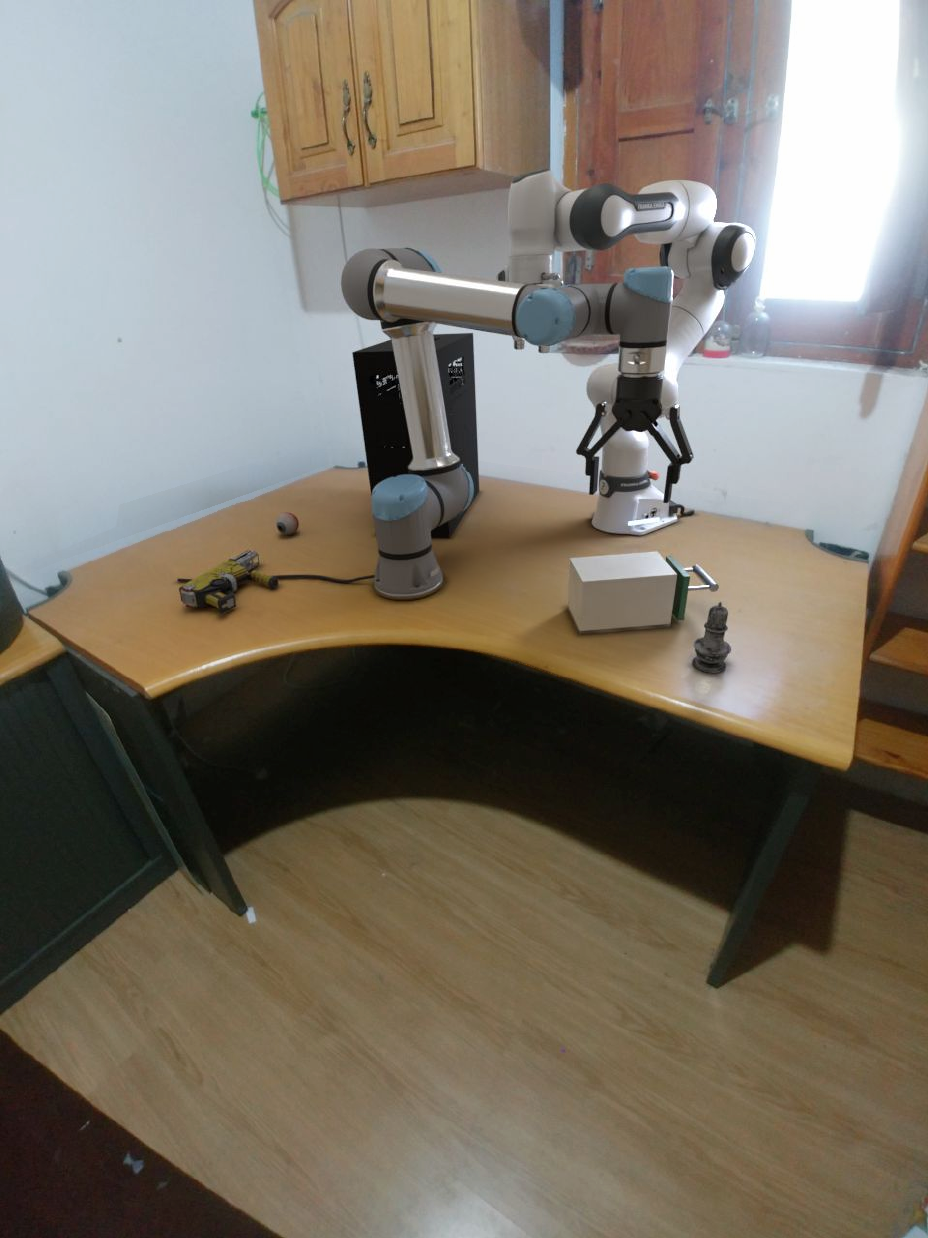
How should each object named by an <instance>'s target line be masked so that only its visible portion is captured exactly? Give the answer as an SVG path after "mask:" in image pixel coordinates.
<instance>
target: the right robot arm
mask: <svg viewBox="0 0 928 1238" xmlns="http://www.w3.org/2000/svg"><path fill="white" fill-rule="evenodd" d="M552 171H553V170H551V169H548V168H541V169H538V170H537V169H536V170H533V171H529V172H525V173H522V174H519V175H517V176H516V177H514V178H513V180H512V181H511V183H510V187H509V192H508V199H507V232H508V238H509V250H508V255H507V261H508V264H506V265H504V267H503V268H502V269H500V270H499V271H498V272H497V273H496V276H495V280H497V281H505V282H513V283H520V284H528V285H538V286H545V287H557V288H558V287H560V286H563V285H564V280H563V279H562V277H561V276H560V273H559V272H555V252H559V253H566V252H567V253H568V252H578V251H606V250H609V249H611V248H613V247H614V246H615V245H617V244H618V243H620V242H621V241H622V240H623V239H624V238H626V237H628V236H631V235H633V236H634V237H635V239H636V240H637V241H638V242H639V243H644V244H649V245H660V248H659V254H658V256H659V258H658V259H659V267H664V266H666V267H669V268H671V270H672V271H673V279H677V280H680V279H681V280H682V279H683V280H684V282H683V286H682V288H681V290H680V292H679V293H678V294H677V295H676V296H675V297H674V298H673V302H672V305H671V312H670V320H669V328H668V336H667V349H666V358H665V368H664V370H663V371H662V372H660V374H661V375H662V376H663V385H662V394H661V404H662V407H665V406H673V405H674V404H677V402H678V399H679V393H680V390H679V389H680V388H679V384H678V379H677V378H678V376H679V375H678V374H679V372H680V369H681V368H682V366H683V364H684V363H685V361H686V360H687V359H688V357H689V356H690V355H691V354H692V352H693V351H694V350H695V348H696V346H697V345H698V344H699V343H700V342H701V341H702V339H703V338H704V337H705V335H706V334H707V333H708V331H709V329H711V327H712V326H713V324H714V323H715V320H716V319H717V317H718V315H719V314H720V312H721V310H722V308H723V305H724V302H725V293H724V291H726V290H728V289H730V288H733V287H734V285H736V284H737V282H738V280H739V279H740V278H741V277H743V276H744V274H745V273H746V271H747V270H748V268H749V267H750V265H751V263H752V262H753V260H754V257H755V254H756V248H757V247H756V246H757V243H756V242H757V241H756V235H755V233H754V231H753V229H752V228H751V227H750V226H748V225H746V224H742V223H738V222H731V223H726V222H714V218H715V215H716V211H717V198H716V194H715V192H714V190H713V189H712V188H711V187H710V186H709V185H708V184H706V183H703V182H699V181H696V180H695V181H694V180H688V179H669V180H662V181H658V182H654V183H651V184H648V185H645V186H643V187H642V188H641V189H640V190H639V191H638V193H636V194H635V193H633V194H631V193H628V192H627V191H624V190H623V189H621V188H620V187H618V186H617V185H615V184H613V183H609V182H601V183H599V184H596V185H593V186H590V187H587V188H581V189H577V190H572V189H571V188H568V187H566V186H564V184H562V183H561V182H560V181H559V180H557V178H556V177H555V176H554V174H553V172H552ZM511 337H512V340H513V349H514V350H517V351H519V350H521V351H522V350H524V349H525V347H526V346H525V342H526V340H525V339H524V338H520V337H515V336H511ZM537 348H538V353H540V354H549V353H550V351H551V346H537ZM620 374H621V373H620V372H619V371H618V362H615V363H614V362H613V363H607V364H603V365H599V366H597V367H596V368H595V369H593V371H591V373H590V375H589V377H588V378H587V382H586V387H585V388H586V396H587V398H588V400H589V401H590V403H591V405H592V406H593V408H594V410H595V411H596V406H597V404H599V403H600V402H602V401H605V402H606V403H608V404H614V403H615V397H616V383H617V377H618V376H619V375H620ZM664 417H665V415H664V414H661V415H660V416H659V418H658V419H662V418H664ZM665 418H666V417H665ZM616 421H617V420H616V418H615V417H614V415H613V413H612V411H610V412H609V414H608V415H607V416H604V418H603V420H602V422H601V424H600V426H599V427H600V433H601V437H602V436H603V435H604V434H605V433H606V432H607V431H608V430H609V429H610V427H611V426H612V425H613V424H614V423H615V422H616ZM649 446H650V441H649V437H648V435H647V434H646V432H645V431H644V432H637V431H625V430H623V429H622V428H620V429H619V430H618V431H617V432H616V433H615V434H614V435H613V436H612V437H611V438H610V439H609V440H608V441H607V443H606V444H605V445H604V446H603V447H602V448H601V468H600V470H599V472H598V492H599V493H598V498H597V502H596V507H595V511H594V514H593V517H592V520H591V525H592V526H593V527H594V528H595V529H597V530H599V531H601V532H605V533H611V534H623V535H625V534H626V535H632V536H633V535H634V536H645V535H646V534H650V533H652V532H654V531H657V530H660V529H662V528H665V527H668V526H670V525H672V524H675V523H677V522H678V516H677V515H676V514H678V513H680V515H681V516H682V517H687V516H690V515H694V514H695V510H694V509H691V510H688V511H685V510H686V508H685V506H684V505H683V504H680V503H676V502H674V501H673V500H671V499H670V500H669V502H668V503H663V501H664V492H661V491H660V490H659V489H658V488H656V487H655V486H654V485H652V483H651V480H653V481H658V479H659V478H660V473H659V472H657V471H654V470H651V471H649V470H648V469H647V466H648V458H649V457H648V456H649ZM679 509H680V511H679Z"/></svg>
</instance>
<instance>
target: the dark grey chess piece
mask: <svg viewBox="0 0 928 1238" xmlns="http://www.w3.org/2000/svg"><path fill="white" fill-rule="evenodd" d="M728 616H729V611H728V608H726V607H725V606H723V603H722V601H719V602H718V603H717V605H714V606H713V605H712V606H711V607H710V608H709V610H708V616H707V621H706V622H705V623H704V624H703V627H704V630H705V631H704V635H703V636H702V637H699V638H697V639H695V640H694V641H693V647H694V651H695V655H696V656H695V657H693V658H692V665H693V666H694V667H695V668H696V669H698V670H699V671H702V672H705V673H710V674H716V673H717V674H718V673H721V672H724V670H726V667H727V664H726V662H725V660H726V659H727V658H728V655H730V654H731V651H732V647H731V645H730V644H729V643H728V642H727V641H725V634H726V632H728V630H729V628H728V625H727V622H728Z"/></svg>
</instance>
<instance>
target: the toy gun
mask: <svg viewBox="0 0 928 1238" xmlns="http://www.w3.org/2000/svg"><path fill="white" fill-rule="evenodd" d="M255 558H257V561H256V562H255V561H254V560H255ZM259 565H260V557H259V552H258V551H256V550H253V551H252V550H251V549H246V550H245V551H243V552H242V553H240V554H238V555H236V556H234V557H233V558H229V559H227V560H226V561H223V562H222V563H220V564H219V565H217V566H215V567H213V568H211V569H209V570H208V571H205V572H203V573H202V574H199V576H196V577H194V578H192V579H193V580H191V581H189V582H185V583H184V584H182V585H180V586H179V587H178V592H179V597H180V601H181V602H182V604H183V605H185V607H186V608H189V609H193V608H204V607H205V608H206V607H208V606H213V607H214V608H217V609H218V612H219V615H223V614H225V613H227V612H229V611H231V610H233V609H235V608H237V603H236V594H235V592H237V591H238V587H239V586H240V585H243V584H245V583H248V580H250V579H251V581H255V582H256V583H259V584H262V585H264V586H268V587H269V588H271V589H275V588H276V587H278V585H279V578H276V577H272V576H273V575H270V574H266V573H263V572H261V571H258V570H255V569H254V568H255V567H258V566H259ZM253 569H254V570H253ZM250 570H252V571H251V572H250V573H249V571H250ZM270 576H271V577H270Z"/></svg>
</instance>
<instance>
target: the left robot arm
mask: <svg viewBox="0 0 928 1238" xmlns="http://www.w3.org/2000/svg"><path fill="white" fill-rule="evenodd" d="M623 275H624V276H623V279H622V281H619V282H614V283H571V284H565V285H564V284H563V286H560V287H558V288H557V287H545V286H538V285H528V284H520V283H513V282H505V281H497V280H496V279H488V278H483V277H481V278H479V277H475V276H466V275H459V274H451V273H444V272H442V270H441V267H440V265H439V263H438V262H437V261H436V260H435V259H434V257H432V256H431V255H430V254H428V252H426V251H424V250H421V249H417V248H413V247H407V246H406V247H394V248H393V247H392V248H391V247H390V248H365V249H362V250H359V251H357V252H356V253H354V254H353V255H352V256H350V257H349V259H348V260H347V262H346V263H345V265H344V266H343V269H342V272H341V277H340V278H341V279H340V286H341V292H342V297H343V299H344V301H345V303H346V305H347V306H348V308H349V309H350V310H351V311H352V312H353V313H354V314H356V315H357V316H358V317H360V318H362V319H364V320H369V321H379V322H380V328H381V332H382V333H384V334H385V335H386V336H387V337H388V338H389V340H391V341H392V346H393V352H394V357H395V363H396V368H397V373H398V375H397V376H398V379H399V384H400V390H401V395H402V400H403V406H404V411H405V417H406V422H407V427H408V433H409V438H410V444H411V449H412V455H413V458H412V460H411V462H410V463H409V465H408V470H409V474H404V475H398V476H397V477H390V478H387V479H385V480H383V481H381V482H380V483H378V484H377V485H376V486H375V488H374V489H373V491H372V497H371V512H372V517H373V518H372V519H373V524H374V531H375V539H376V546H377V551H378V552H377V553H378V558H377V563H376V568H375V572H374V574H371V575H370V574H369V575H364V576H359V577H355V578H349V579H340V578H334V577H330V576H325V575H320V574H319V575H318V574H277V575H269V576H270V577H271V576H272V577H276V578H277V579H298V578H299V579H300V578H301V579H303V578H304V579H305V578H306V579H319V580H326V581H330V582H335V583H342V584H348V583H355V582H360V581H364V580H371V579H373V585H374V591H375V592H376V593H377V594H378V595H379V596H381V597H382V598H385V599H388V600H394V601H413V600H419V599H424V598H425V597H429V596H431V595H433V594H435V593H436V592H438V591H439V590H440V589H441V588H442V587H443V585H444V577H443V572H442V569H441V567H440V564H439V563H438V561H437V558H436V555H435V553H434V551H433V544H432V537H431V530H433V529H434V528H436V527H438V526H440V525H442V524H443V523H445V522H447V521H449V520H450V519H453V518H455V517H457V516H458V515H460V514H461V513H462V512H463V511H464V510H465V509H466V508H467V507H468V506H469V505H470V503H471V501H472V498H473V493H474V486H473V481H472V478H471V475H470V474H469V472H467V471H466V469H465V468H464V467H463V466H462V465H463V464H462V465H460V459H459V457H458V456H457V455H456V454H454V453H453V452H452V451H451V446H450V439H449V433H448V426H447V420H446V413H445V407H444V400H443V394H442V388H441V381H440V375H439V368H438V362H437V355H436V349H435V343H434V336H433V334H434V330H435V329H436V327H437V326H438V325H443V326H448V327H456V328H462V329H467V330H474V331H480V332H485V333H491V334H497V335H504V336H510V337H512V336H515V337H520V338H522V339H523V340H525V342H527V343H529V344H530V345H533V346H535V347H538V346H550V347H551V346H555V345H558V344H559V343H561V342H562V343H563V342H565V341H569V340H572V339H576V338H580V337H583V336H591V335H619V343H618V345H619V346H618V357H617V363H618V371H619V372H620V373H621V374H620V375H619V376H618V377H617V383H616V397H615V403H614V404H608V403H606V402H605V401H602V402H600V403H599V404H597V406H596V410H595V411H594V417H593V418H592V420H591V422H590V423H589V426H588V428H587V430H586V431H585V434H584V435H583V437H582V439H581V440H580V443H579V445H578V446H577V448H576V450H575V453H576V455H578V456H582V457H584V458H585V469H584V470H585V471H584V473H585V476H586V477H587V476H588V477H589V486H588V487H589V489H588V495H589V496H594V495H595V494H596V493H597V492H598V487H599V471H600V470H599V468H600V456H595V455H596V454H597V453H598V452H599V451H600V450H602V447H603V446H604V445H605V444H606V443H607V441H608V440H609V439H610V438H611V437H612V436H613V435H614V434H615V433H616V432H617V431H618V430H619V429H620V428H622V429H623V430H625V431H637V432H644V433H645V432H646V431H647V432H648V433H649V435H650V436H651V437H653V439H654V441H655V442H656V443H657V445H658V446H659V447H660V449H661V451H662V452H663V453H664V455H665V456H666V457H667V459H668V461H669V462H670V463H669V464H668V465H667V469H666V477H665V485H664V491H663V494H664V501H663V503H668V502H669V500H671V498H672V491H673V485H677V484H678V482H679V481H680V478H681V470H682V465H688V464H690V463H691V462H692V461H693V459H694V457H695V456H694V453H693V450H692V447H691V444H690V442H689V439H688V437H687V434H686V433H687V432H686V431H685V427H684V425H683V423H682V420H681V406H680V404H678V403H676V404H674V405H673V406H665V407H662V404H661V394H662V385H663V376H662V375H661V374H660V372H662V371H663V370H664V368H665V358H666V349H667V336H668V328H669V320H670V312H671V305H672V302H673V300H674V298H673V291H674V289H673V287H674V286H673V285H674V278H673V271H672V270H671V268H669V267H666V266H664V267H661V266H648V267H630V268H627V269H626V270H625V272H624V274H623ZM399 384H398V385H399ZM610 411H612V413H613V415H614V417H615V418H616V420H617V421H616V422H615V423H614V424H613V425H612V426H611V427H610V429H609V430H608V431H607V432H606V433H605V434H604V435H603V436H602V435H601V437H600V438H599V439H598V440H597V441H596V442H595V444H593V446H592V447H591V448H589V446H590V444H591V442H592V441H593V439H594V436H595V435H596V433H597V431H598V429H599V427H600V424H601V422H602V420H603V418H604V416H607V415H608V414H609V412H610ZM661 414H664V415H665V419H666V420H667V421H669V425H670V427H671V431H672V434H673V436H674V439H675V441H676V443H677V446H678V449H679V451H680V453H679V451H678V450H677V448H676V447H675V445H674V444H673V443H672V441H671V440H670V439H669V437H668V435H667V434H666V433H665V431H664V430H663V428H662V425H661V424H660V423H659V421H658V419H660V418H659V416H660V415H661ZM470 506H471V505H470ZM193 579H194V578H177V582H181V583H187V582H189V581H191V580H193ZM248 581H250V582H251V581H252V580H251V579H250V580H248ZM248 581H247V582H248Z"/></svg>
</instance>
